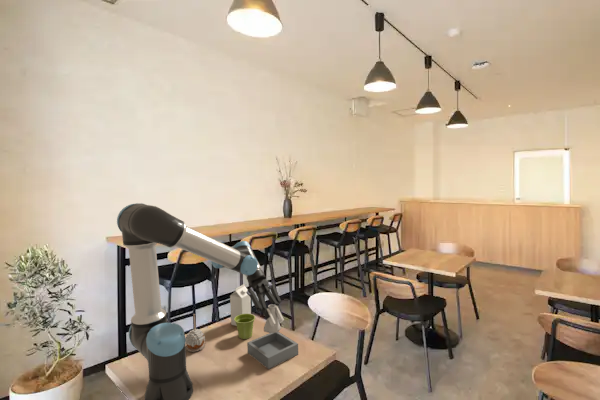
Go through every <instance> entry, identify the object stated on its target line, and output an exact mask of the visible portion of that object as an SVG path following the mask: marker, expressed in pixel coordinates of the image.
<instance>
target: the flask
mask: <svg viewBox="0 0 600 400" xmlns="http://www.w3.org/2000/svg"><path fill="white" fill-rule="evenodd" d="M275 307H276V305H273V304H269V305H267V309H268V308H269V310H270V312H271V314H272V316H273V318H274V320H275V323H276V324H275V325H274V326H272V327H271V324H270V322H269V320H268V319H266V320H265V323H264V326H263V331H264V332H265V333H267V334H269V333H276V332H280V331H281V329H282V328H281V325H280V324H281V323H279V320H278V318H277V316H276V313H275Z"/></svg>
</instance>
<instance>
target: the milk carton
mask: <svg viewBox="0 0 600 400" xmlns="http://www.w3.org/2000/svg"><path fill="white" fill-rule="evenodd" d="M245 285H246V284H245V283H243V284H241V285H240V286H238V287H236V288H235V289H234V290H235V291H233V293H231V294H230V295H229V299H230V301H229V302H230V325H232V326H235V327H237V325H236V322H235V321H234V318H235V317H236V316H238V315H240V314H252V304H251V303H252V300H251V298H250V296H249V295H248V294H247V293H246V292H247V290H248V289H249V288H247V287H246V286H245Z"/></svg>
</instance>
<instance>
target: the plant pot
mask: <svg viewBox="0 0 600 400" xmlns="http://www.w3.org/2000/svg"><path fill="white" fill-rule="evenodd" d="M255 320H256V316H255V315H254V314H252V313H251V314H240V315H238V316H236V317H235V318H234V321H235V322H236V325H237V326H236V329H237V334H238V335H237V336H238V339H241V340H249V339H250V338H251V337H253V332H254V331H253V329H254V322H255Z"/></svg>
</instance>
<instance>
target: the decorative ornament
mask: <svg viewBox="0 0 600 400" xmlns="http://www.w3.org/2000/svg"><path fill="white" fill-rule="evenodd" d="M192 317H193V329H191V330H190V331H189V332H188V333H187V334H186V335H185V340H186V341H185V348H186V352H199V351H201V350H203V349H204V348H205V347H206V342H205V341H206V337H205V333H204V332H203V330H201V329H198V328H197V327H196V325H197V324H196V314H195V313H193V314H192Z"/></svg>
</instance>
